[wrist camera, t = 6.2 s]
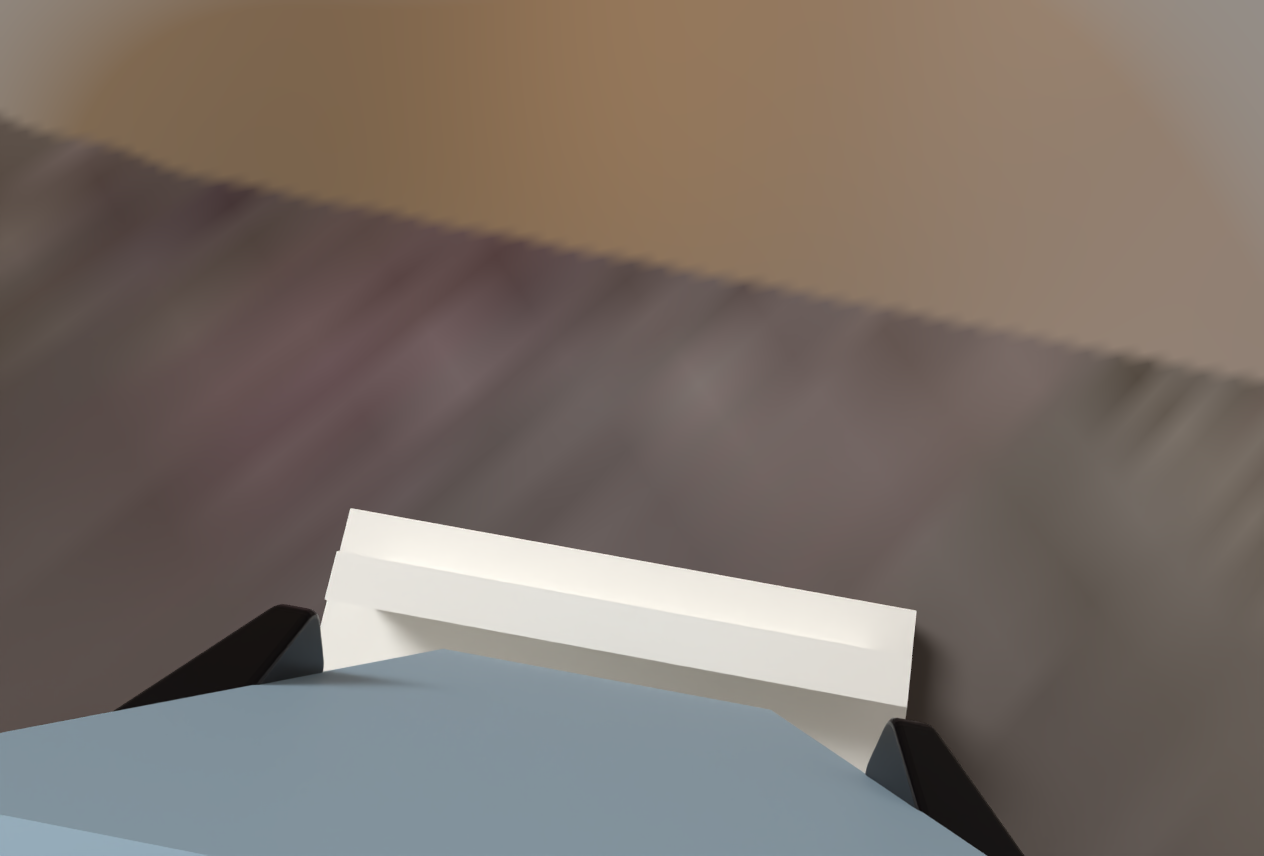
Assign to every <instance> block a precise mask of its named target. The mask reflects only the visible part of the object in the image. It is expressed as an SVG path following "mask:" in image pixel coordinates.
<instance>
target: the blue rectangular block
mask: <svg viewBox="0 0 1264 856" xmlns="http://www.w3.org/2000/svg"><path fill="white" fill-rule="evenodd" d="M0 856H987V855H985V854H984V853H982V852H981V851H979V850H978V849H976V848H975V847H973V846H972V845H970V844H969V843H967V842H966V841H964V840H963V839H961V838H960V837H958V836H957V835H955V834H954V833H953V832H951V831H950V830H948V829H947V828H945V827H944V826H942V825H941V824H939V823H938V822H936V821H935V820H933V819H932V818H930V817H929V816H927V815H926V814H924V813H923V812H921V811H919V810H917V809H915V808H914V807H912V806H911V805H909V804H908V803H906V802H905V801H903V800H902V799H900V798H899V797H897V796H896V795H894V794H893V793H891V792H890V791H889V790H887V789H886V788H884V787H883V786H881V785H880V784H878V783H877V782H875V781H874V780H872V779H871V778H869V777H868V776H866V775H865V773H864V772H862V771H861V770H859V769H858V768H856V767H855V766H853V765H852V764H850V763H849V762H847V761H846V760H844V759H843V758H841V757H840V756H838V755H837V754H835V753H834V752H833V751H831V750H830V749H828V748H827V747H825V746H824V745H822V744H821V743H819V742H818V741H816V740H815V739H813V738H812V737H810V736H809V735H807V734H806V733H804V732H803V731H801V730H800V729H798V728H797V727H795V726H794V725H793V724H791V723H790V722H788V721H787V720H785V719H784V718H782V717H781V716H779V715H778V714H776V713H775V712H773V711H772V710H769V709H764V708H759V707H753V706H748V705H742V704H737V703H732V702H726V701H721V700H716V699H710V698H705V697H700V696H694V695H689V694H683V693H678V692H673V691H667V690H662V689H657V688H651V687H646V686H641V685H635V684H630V683H624V682H619V681H614V680H608V679H603V678H598V677H592V676H587V675H581V674H576V673H571V672H565V671H560V670H555V669H549V668H544V667H539V666H533V665H528V664H522V663H517V662H512V661H506V660H501V659H496V658H490V657H485V656H479V655H474V654H469V653H463V652H458V651H453V650H447V649H440V650H434V651H429V652H424V653H419V654H413V655H408V656H403V657H398V658H392V659H387V660H382V661H377V662H371V663H366V664H361V665H355V666H350V667H345V668H340V669H334V670H329V671H324V672H323V673H318V674H312V675H307V676H302V677H297V678H292V679H286V680H281V681H276V682H271V683H266V684H261V685H250V686H245V687H240V688H235V689H229V690H224V691H219V692H214V693H208V694H203V695H198V696H193V697H187V698H182V699H177V700H172V701H166V702H161V703H156V704H151V705H145V706H140V707H135V708H129V709H124V710H119V711H114V712H108V713H103V714H98V715H93V716H87V717H82V718H77V719H72V720H66V721H61V722H56V723H51V724H45V725H40V726H35V727H30V728H24V729H19V730H14V731H9V732H3V733H0Z"/></svg>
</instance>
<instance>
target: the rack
mask: <svg viewBox="0 0 1264 856" xmlns="http://www.w3.org/2000/svg"><path fill="white" fill-rule="evenodd" d="M325 600H327V603H326V607H325V611H324V615H323V619H322V623H321V627H320V629H321V638H322V648H323V657H324V669H323V672H324V671H329V670H334V669H340V668H345V667H350V666H355V665H361V664H366V663H371V662H377V661H382V660H387V659H392V658H398V657H403V656H408V655H413V654H419V653H424V652H429V651H434V650H440V649H447V650H453V651H458V652H463V653H469V654H474V655H479V656H485V657H490V658H496V659H501V660H506V661H512V662H517V663H522V664H528V665H533V666H539V667H544V668H549V669H555V670H560V671H565V672H571V673H576V674H581V675H587V676H592V677H598V678H603V679H608V680H614V681H619V682H624V683H630V684H635V685H641V686H646V687H651V688H657V689H662V690H667V691H673V692H678V693H683V694H689V695H694V696H700V697H705V698H710V699H716V700H721V701H726V702H732V703H737V704H742V705H748V706H753V707H759V708H764V709H769V710H772V711H773V712H775V713H776V714H778V715H779V716H781V717H782V718H784V719H785V720H787V721H788V722H790V723H791V724H793V725H794V726H795V727H797V728H798V729H800V730H801V731H803V732H804V733H806V734H807V735H809V736H810V737H812V738H813V739H815V740H816V741H818V742H819V743H821V744H822V745H824V746H825V747H827V748H828V749H830V750H831V751H833V752H834V753H835V754H837V755H838V756H840V757H841V758H843V759H844V760H846V761H847V762H849V763H850V764H852V765H853V766H855V767H856V768H858V769H859V770H861V771H862V772H864V773H865V772H866V768H867V765H868V762H869V760H870V758H871V755H872V753H873V751H874V749H875V747H876V744H877V742H878V740H879V738H880V736H881V733H882V731H883V729H884V727H885V725H886V723H887V722H888V721H889V720H890V719H892V718H902V719H906V710H907V702H908V692H909V683H910V673H911V663H912V651H913V641H914V631H915V621H916V611H915V610H909V609H904V608H898V607H893V606H887V605H881V604H876V603H870V602H865V601H859V600H854V599H848V598H843V597H837V596H832V595H826V594H821V593H815V592H810V591H804V590H799V589H793V588H788V587H782V586H777V585H771V584H766V583H760V582H755V581H749V580H744V579H738V578H732V577H727V576H721V575H716V574H710V573H705V572H699V571H694V570H688V569H683V568H677V567H672V566H666V565H661V564H655V563H650V562H644V561H639V560H633V559H628V558H622V557H617V556H611V555H606V554H600V553H595V552H589V551H583V550H578V549H572V548H567V547H561V546H556V545H550V544H545V543H539V542H534V541H528V540H523V539H517V538H512V537H506V536H501V535H495V534H490V533H484V532H479V531H473V530H468V529H462V528H457V527H451V526H446V525H440V524H434V523H429V522H423V521H418V520H412V519H407V518H401V517H396V516H390V515H385V514H379V513H374V512H368V511H363V510H357V509H352V508H351V509H350V513H349V517H348V520H347V524H346V528H345V532H344V536H343V540H342V544H341V548H340V552H339V551H337V553H336V557H335V561H334V564H333V568H332V572H331V576H330V580H329V584H328V588H327V592H326V596H325Z"/></svg>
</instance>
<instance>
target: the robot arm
mask: <svg viewBox="0 0 1264 856" xmlns="http://www.w3.org/2000/svg"><path fill="white" fill-rule="evenodd" d="M323 669H324V657H323V648H322V638H321V629H320V620H319V616H318V614H317V613H316V612H315V611H314V610H312V609H308V608H302V607H297V606H291V605H285V604H281V605H277V606H274V607H272V608H270V609H269V610H267V611H266V612H264V613H263V614H261V615H259V616H258V617H256V618H255V619H253V620H252V621H250V622H249V623H247V624H246V625H244V626H243V627H241V628H240V629H238V630H237V631H235V632H233V633H232V634H230V635H229V636H227V637H226V638H224V639H223V640H221V641H220V642H218V643H217V644H215V645H214V646H212V647H211V648H209V649H207V650H206V651H204V652H203V653H201V654H200V655H198V656H197V657H195V658H194V659H192V660H191V661H189V662H188V663H186V664H185V665H183V666H182V667H180V668H178V669H177V670H175V671H174V672H172V673H171V674H169V675H168V676H166V677H165V678H163V679H162V680H160V681H159V682H157V683H156V684H154V685H152V686H151V687H149V688H148V689H146V690H145V691H143V692H142V693H140V694H139V695H137V696H136V697H134V698H133V699H131V700H130V701H128V702H127V703H125V704H123V705H122V706H120V707H119V708H117V709H116V710H114V711H119V710H124V709H129V708H135V707H140V706H145V705H151V704H156V703H161V702H166V701H172V700H177V699H182V698H187V697H193V696H198V695H203V694H208V693H214V692H219V691H224V690H229V689H235V688H240V687H245V686H250V685H261V684H266V683H271V682H276V681H281V680H286V679H292V678H297V677H302V676H307V675H312V674H318V673H323ZM114 711H113V712H114ZM865 775H866V776H868V777H869V778H871V779H872V780H874V781H875V782H877V783H878V784H880V785H881V786H883V787H884V788H886V789H887V790H889V791H890V792H891V793H893V794H894V795H896V796H897V797H899V798H900V799H902V800H903V801H905V802H906V803H908V804H909V805H911V806H912V807H914V808H915V809H917V810H919V811H921V812H923V813H924V814H926V815H927V816H929V817H930V818H932V819H933V820H935V821H936V822H938V823H939V824H941V825H942V826H944V827H945V828H947V829H948V830H950V831H951V832H953V833H954V834H955V835H957V836H958V837H960V838H961V839H963V840H964V841H966V842H967V843H969V844H970V845H972V846H973V847H975V848H976V849H978V850H979V851H981V852H982V853H984V854H985V855H987V856H1024V854H1023V853H1022V852H1021V850H1020V849H1019V847H1018V846H1017V845H1016V843H1015V842H1014V840H1013V839H1012V838H1011V836H1010V835H1009V833H1008V832H1007V830H1006V829H1005V828H1004V826H1003V825H1002V823H1001V822H1000V821H999V819H998V818H997V816H996V815H995V814H994V812H993V811H992V809H991V808H990V806H989V805H988V804H987V802H986V801H985V799H984V798H983V797H982V795H981V794H980V792H979V791H978V789H977V788H976V787H975V785H974V784H973V782H972V781H971V780H970V778H969V777H968V775H967V774H966V773H965V771H964V770H963V768H962V767H961V765H960V764H959V763H958V761H957V760H956V758H955V757H954V756H953V754H952V753H951V751H950V750H949V749H948V747H947V746H946V744H945V743H944V741H943V740H942V739H941V737H940V736H939V734H938V733H937V732H936V730H935V729H934V728H933V727H931V726H930V725H929V724H926V723H923V722H918V721H913V720H907V719H902V718H892V719H890V720H889V721H888V722H887V723H886V725H885V727H884V729H883V731H882V733H881V736H880V738H879V740H878V742H877V744H876V747H875V749H874V751H873V753H872V755H871V758H870V760H869V762H868V765H867V768H866V772H865Z"/></svg>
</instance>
